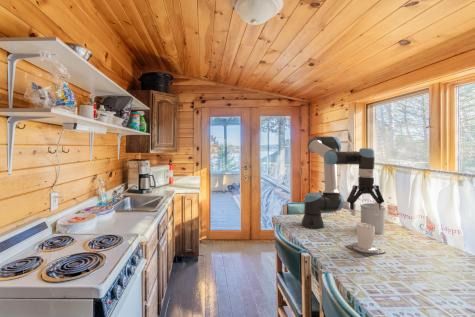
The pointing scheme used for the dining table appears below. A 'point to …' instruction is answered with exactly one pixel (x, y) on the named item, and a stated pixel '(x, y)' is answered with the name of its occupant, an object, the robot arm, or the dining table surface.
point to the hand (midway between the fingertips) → (364, 215)
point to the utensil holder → (373, 216)
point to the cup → (365, 235)
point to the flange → (365, 250)
